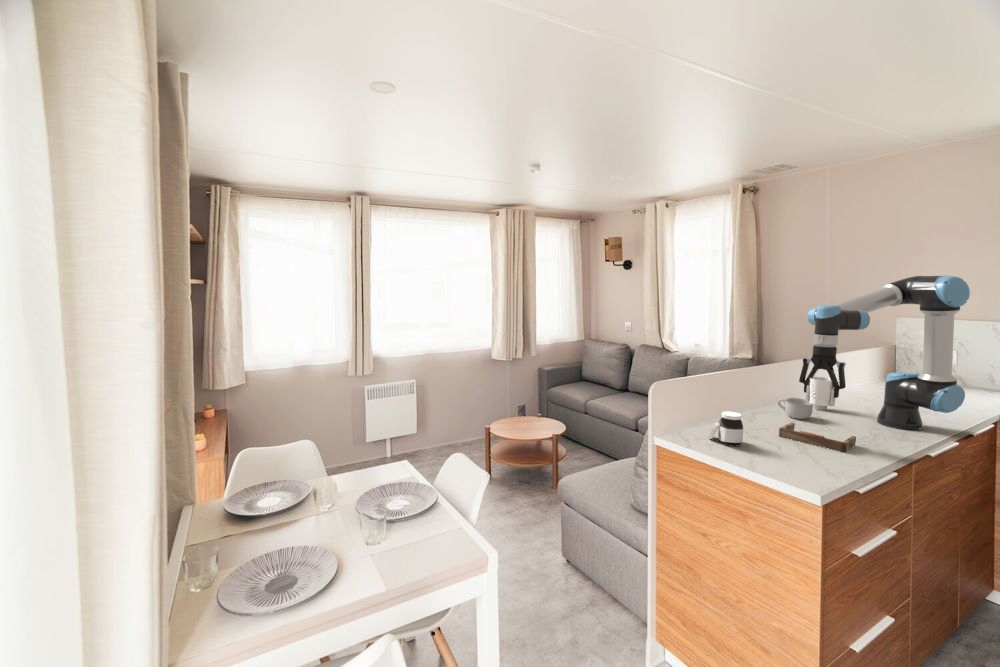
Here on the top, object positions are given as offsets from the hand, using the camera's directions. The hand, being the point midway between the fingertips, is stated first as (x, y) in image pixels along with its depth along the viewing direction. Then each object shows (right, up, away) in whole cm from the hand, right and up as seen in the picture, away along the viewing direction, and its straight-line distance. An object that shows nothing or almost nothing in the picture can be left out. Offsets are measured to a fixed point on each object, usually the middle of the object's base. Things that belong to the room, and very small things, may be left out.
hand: (819, 403), depth 183 cm
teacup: (+11, -11, +33) cm, 37 cm away
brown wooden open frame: (0, -15, +2) cm, 15 cm away
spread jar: (-37, -15, +1) cm, 40 cm away
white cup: (0, 0, 0) cm, 0 cm away
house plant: (+32, -10, +45) cm, 56 cm away
